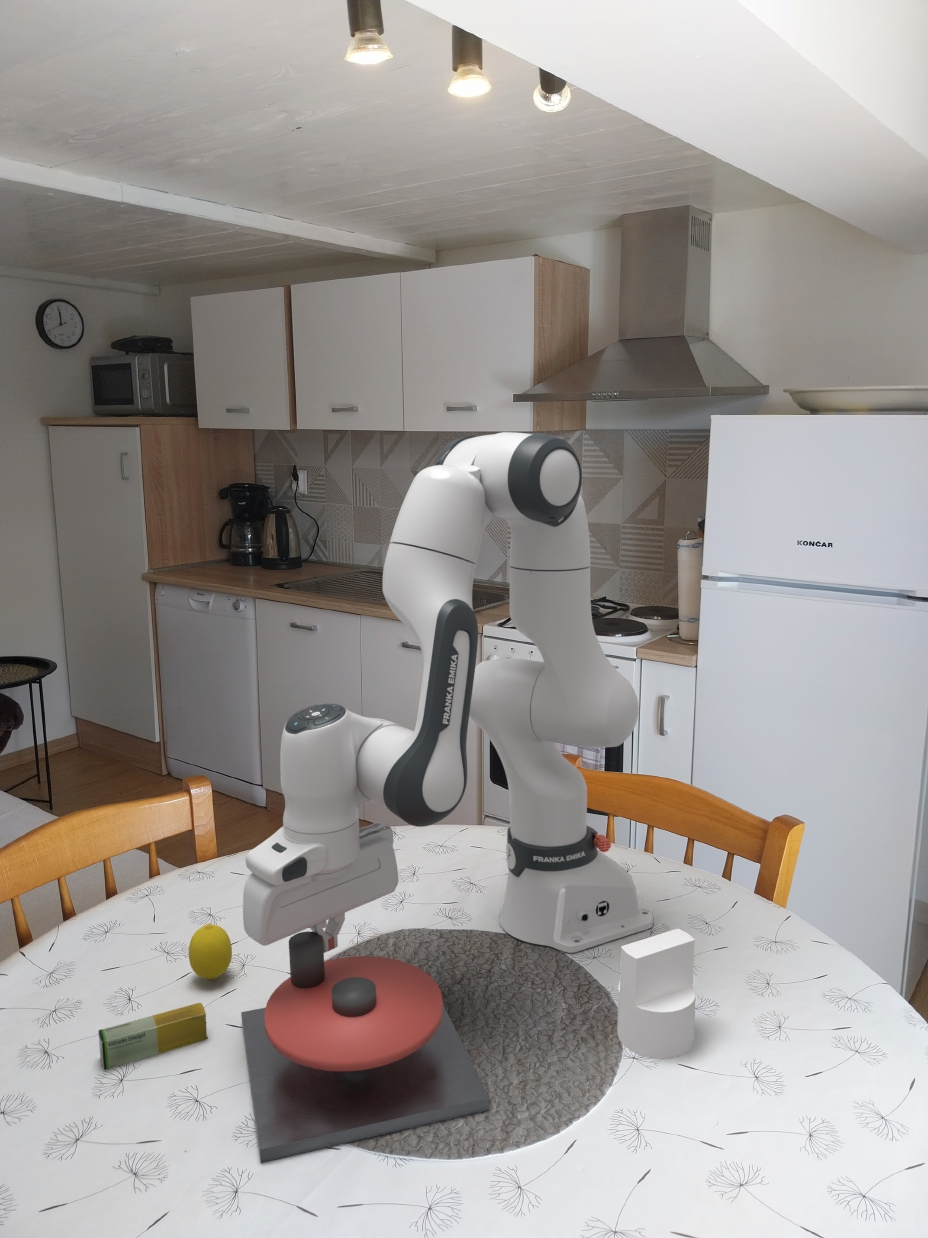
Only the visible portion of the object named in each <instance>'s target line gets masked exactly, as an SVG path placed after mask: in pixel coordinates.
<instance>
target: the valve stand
mask: <svg viewBox="0 0 928 1238" xmlns="http://www.w3.org/2000/svg"><path fill="white" fill-rule="evenodd" d="M442 1005H443V1015H442V1019H441V1023H440V1025H439V1027H438V1029H437V1031H436V1032H435V1034H434V1035H433V1036H432V1037H431V1039H430V1040H429V1041H428V1042H427V1043H426V1044H424V1045H423V1046H422V1047H421V1048H419V1049H418V1050H416V1051H415V1052H413V1053H412V1054H410V1055H408V1056H406V1057H404V1058H402V1059H400V1060H398V1061H395V1062H392V1063H390V1064H387V1065H383V1066H380V1067H376V1068H371V1069H366V1070H357V1071H326V1070H320V1069H314V1068H310V1067H307V1066H303V1065H301V1064H298V1063H295V1062H293V1061H291V1060H290V1059H288V1058H286V1057H284V1056H283V1055H282V1054H280V1053H279V1052H278V1051H277V1050H276V1049H275V1048H274V1047H273V1046H272V1044H271V1043H270V1041H269V1040H268V1037H267V1034H266V1030H265V1018H264V1015H265V1008H266V1007H262V1008H261V1007H260V1008H257V1009H252V1010H246V1011H245V1010H244V1011H241V1012H240V1013H241V1015H240V1016H241V1026H242V1034H243V1035H242V1036H243V1040H244V1050H245V1057H246V1064H247V1070H248V1077H249V1085H250V1092H251V1093H250V1094H251V1099H252V1109H253V1114H254V1122H255V1131H256V1138H257V1145H258V1153H259V1160H260V1163H265V1162H270V1161H273V1160H279V1159H283V1158H287V1157H292V1156H296V1155H300V1154H304V1153H308V1152H313V1151H317V1150H322V1149H326V1148H330V1147H335V1146H340V1145H344V1144H348V1143H352V1142H357V1141H361V1140H365V1139H369V1138H373V1137H378V1136H383V1135H387V1134H392V1133H395V1132H399V1131H404V1130H409V1129H414V1128H417V1127H420V1126H422V1127H423V1126H425V1125H429V1124H433V1123H434V1124H435V1123H438V1122H442V1121H446V1120H447V1121H448V1120H451V1119H456V1118H460V1117H464V1116H468V1115H473V1114H478V1113H482V1112H487V1111H489V1110H490V1097H489V1095H488V1093H487V1091H486V1088H485V1086H484V1084H483V1083H482V1080H481V1078H480V1077H479V1074H478V1072H477V1070H476V1068H475V1067H474V1065H473V1062H472V1060H471V1058H470V1056H469V1054H468V1052H467V1050H466V1048H465V1046H464V1044H463V1041H462V1040H461V1037H460V1036H459V1034H458V1031H457V1030H456V1027H455V1026H454V1024H453V1021H452V1019H451V1017H450V1015H449V1012H448V1011H447V1010H446V1007H445V1005H444V1003H443V1002H442Z"/></svg>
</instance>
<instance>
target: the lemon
mask: <svg viewBox="0 0 928 1238" xmlns="http://www.w3.org/2000/svg"><path fill="white" fill-rule="evenodd" d="M232 957H233V948H232V942H231V939H230V937H229V935H228V932H227V931H226V929H224V928H222V927H221V926H220V925H217V924H211V923H207V924H206V925H204V926H201V927H199V929H197V930H196V931H195V932H194V934H193V935H192V936H191V939H190V942H189V947H188V959H189V960H188V961H189V965H190V967H191V969H192V971H193V972H194V974H195V975H197V976H199V977H200V978H202V979H205V980H206V979H207V980H210V981H214V980H215V979H216V978H218V977H220V976H221V975H223V974H224V973H225V972H226V971H227V970H228V968H229V967H230V964H231V961H232V959H233V958H232Z"/></svg>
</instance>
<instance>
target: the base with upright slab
mask: <svg viewBox="0 0 928 1238" xmlns="http://www.w3.org/2000/svg"><path fill="white" fill-rule="evenodd" d="M694 958H695V939H694V937H693V936H691V935H690V934H689V933H688V932H686V931H684V930H682V929H680V928H675V929H672V930H669V931H665V932H662V933H660V934H656V935H653V936H650V937H649V936H648V937H646V938H644V939H643V938H642V939H641V940H636V941H634V942H630V943H628V944H624V945H622V946H620V968H619V969H620V973H619V974H620V976H619V977H620V980H619V982H618V984H617V985H618V987H617V989H618V990H617V1029H616V1030H617V1032H616V1033H617V1035H616V1036H618V1040H619V1041H620V1043H621V1044H622V1045H623V1046H624V1047H625V1048H627V1049H628V1050H629V1051H631V1052H632V1053H634V1054H637V1055H638V1056H642V1057H643V1058H648V1059H654V1060H656V1059H657V1060H665V1059H666V1060H667V1059H669V1060H670V1059H674V1058H679V1057H681V1056H683V1055H684V1054H686V1053H688V1052H689V1051H690V1050H691V1048H693V1045H694V1043H695V1019H696V1018H695V1017H696V1016H695V1015H696V990H695V988H694V985H693V984H694V964H695V963H694V960H695V959H694Z"/></svg>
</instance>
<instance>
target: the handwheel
mask: <svg viewBox="0 0 928 1238" xmlns="http://www.w3.org/2000/svg"><path fill="white" fill-rule="evenodd" d="M288 955H289V956H288V957H289V971H290V973H289V974H290V975H289V977H287V979H285V980H284V981H283V982H282V983H280V984H279V985H278V986H277V987H276V988H275V990H273V992H272V994H271V995H270V996H269V998H268V1000H267V1002H266V1004H265V1007H264V1008H265V1015H264V1018H265V1030H266V1034H267V1037H268V1040H269V1041H270V1043H271V1044H272V1046H273V1047H274V1048H275V1049H276V1050H277V1051H278V1052H279V1053H280V1054H282V1055H283V1056H284V1057H286V1058H288V1059H290V1060H291V1061H293V1062H295V1063H298V1064H301V1065H303V1066H307V1067H310V1068H314V1069H320V1070H326V1071H357V1070H366V1069H371V1068H376V1067H380V1066H383V1065H387V1064H390V1063H392V1062H395V1061H398V1060H400V1059H402V1058H404V1057H406V1056H408V1055H410V1054H412V1053H413V1052H415V1051H416V1050H418V1049H419V1048H421V1047H422V1046H423V1045H424V1044H426V1043H427V1042H428V1041H429V1040H430V1039H431V1037H432V1036H433V1035H434V1034H435V1032H436V1031H437V1029H438V1027H439V1025H440V1023H441V1019H442V1015H443V1005H444V1004H443V1005H442V1003H443V995H442V991H441V989H440V987H439V985H438V983H437V982H436V981H435V979H433V977H431V976H430V974H428V973H427V972H426V971H424V970H423V969H421V968H420V967H418V966H416V965H414V964H411V963H409V962H405V961H402V960H399V959H394V958H391V957H385V956H373V955H360V956H359V955H358V956H357V955H356V956H348V957H347V956H345V957H339V958H334V959H330V960H325V953H324V948H323V937H322V935H319V934H317V933H316V932H312V931H309V930H308V931H300V932H297V933H295V934H293V935H291V937H290V938H289V940H288Z"/></svg>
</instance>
